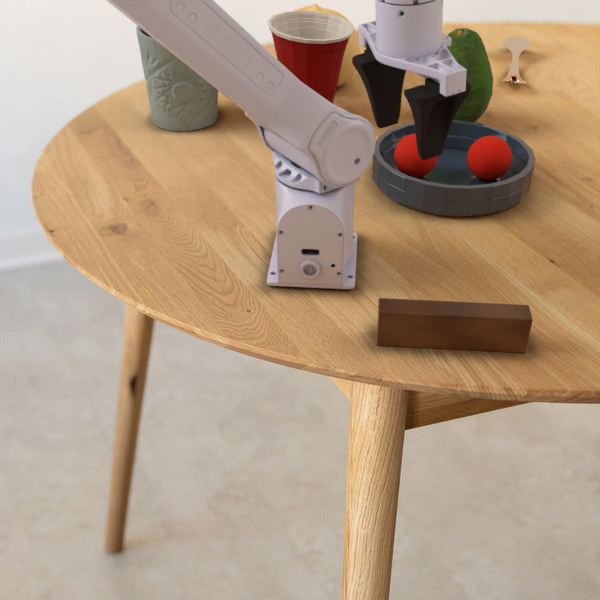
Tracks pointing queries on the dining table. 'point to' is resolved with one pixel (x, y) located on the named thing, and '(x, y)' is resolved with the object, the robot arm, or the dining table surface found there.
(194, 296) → the dining table surface
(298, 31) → the plastic cup
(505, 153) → the tomato
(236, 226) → the dining table surface
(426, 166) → the tomato
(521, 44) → the stirrer
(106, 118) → the dining table surface
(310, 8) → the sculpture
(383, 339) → the wooden block
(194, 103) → the green ceramic cup
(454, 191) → the bowl
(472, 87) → the avocado
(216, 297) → the dining table surface
